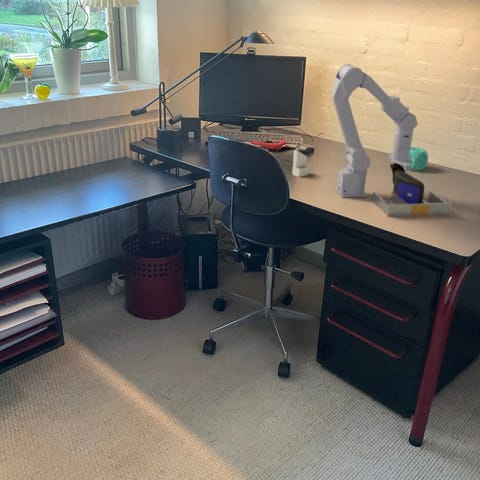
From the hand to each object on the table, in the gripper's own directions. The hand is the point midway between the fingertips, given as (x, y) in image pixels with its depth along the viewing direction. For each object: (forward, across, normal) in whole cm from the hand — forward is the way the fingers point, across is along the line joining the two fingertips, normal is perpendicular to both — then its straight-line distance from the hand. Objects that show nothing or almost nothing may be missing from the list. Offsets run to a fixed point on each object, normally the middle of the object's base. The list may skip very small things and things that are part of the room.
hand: (396, 184), depth 190 cm
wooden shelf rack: (+3, -14, 0) cm, 14 cm away
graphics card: (+4, +66, +43) cm, 79 cm away
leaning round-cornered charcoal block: (+3, -9, -1) cm, 10 cm away
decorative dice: (+4, +30, -20) cm, 37 cm away
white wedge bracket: (+4, +24, +29) cm, 38 cm away
